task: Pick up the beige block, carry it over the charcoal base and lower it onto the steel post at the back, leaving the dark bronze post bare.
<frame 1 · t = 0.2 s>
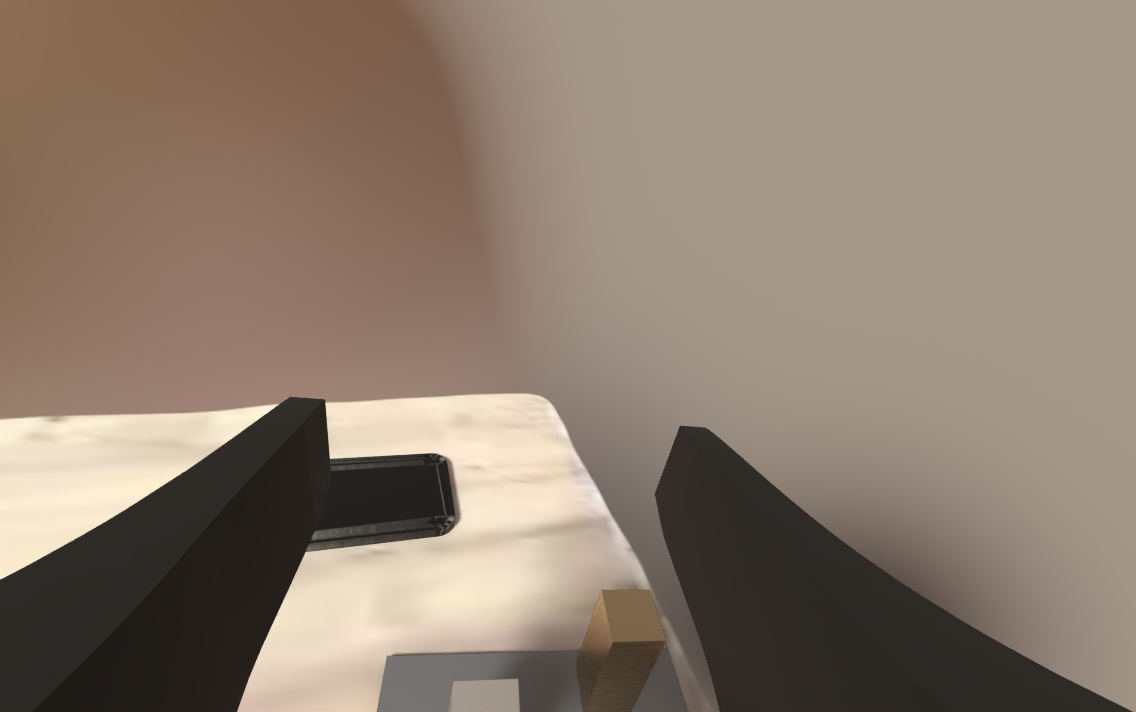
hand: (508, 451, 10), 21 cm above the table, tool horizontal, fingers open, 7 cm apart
phone: (341, 508, 34), on the table
bronze post: (602, 687, 26), resting on base board
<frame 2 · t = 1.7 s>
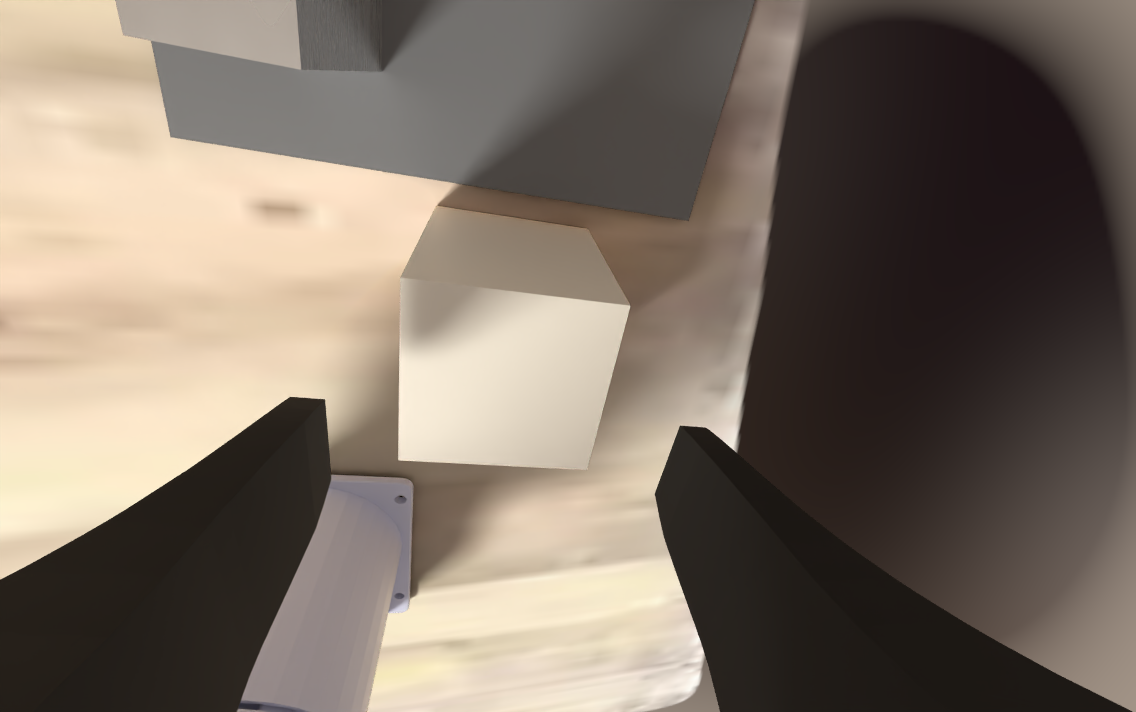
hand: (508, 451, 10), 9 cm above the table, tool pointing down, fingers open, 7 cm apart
beige block: (505, 287, 18), on the table
steel post: (330, 5, 13), resting on base board
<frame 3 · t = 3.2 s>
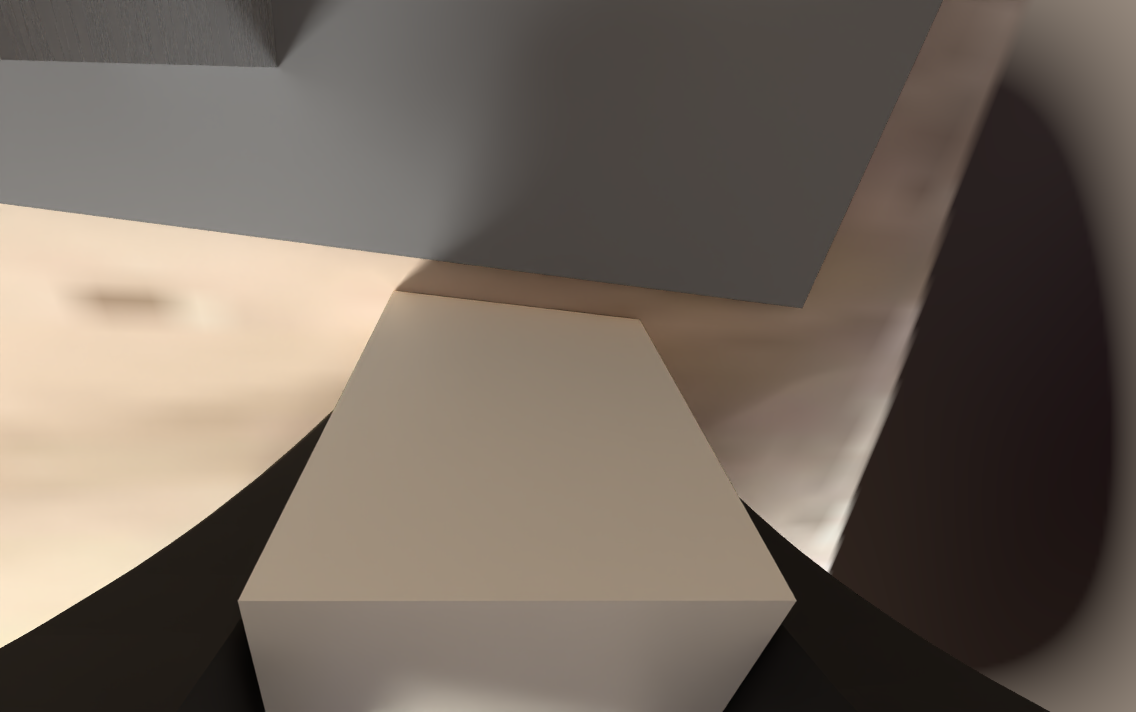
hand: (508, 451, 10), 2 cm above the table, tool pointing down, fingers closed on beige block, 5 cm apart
beige block: (508, 405, 11), on the table, touching gripper
when the fingers open (3 cm above the table, at t = 8.2 s): beige block stays where it is, resting on steel post.
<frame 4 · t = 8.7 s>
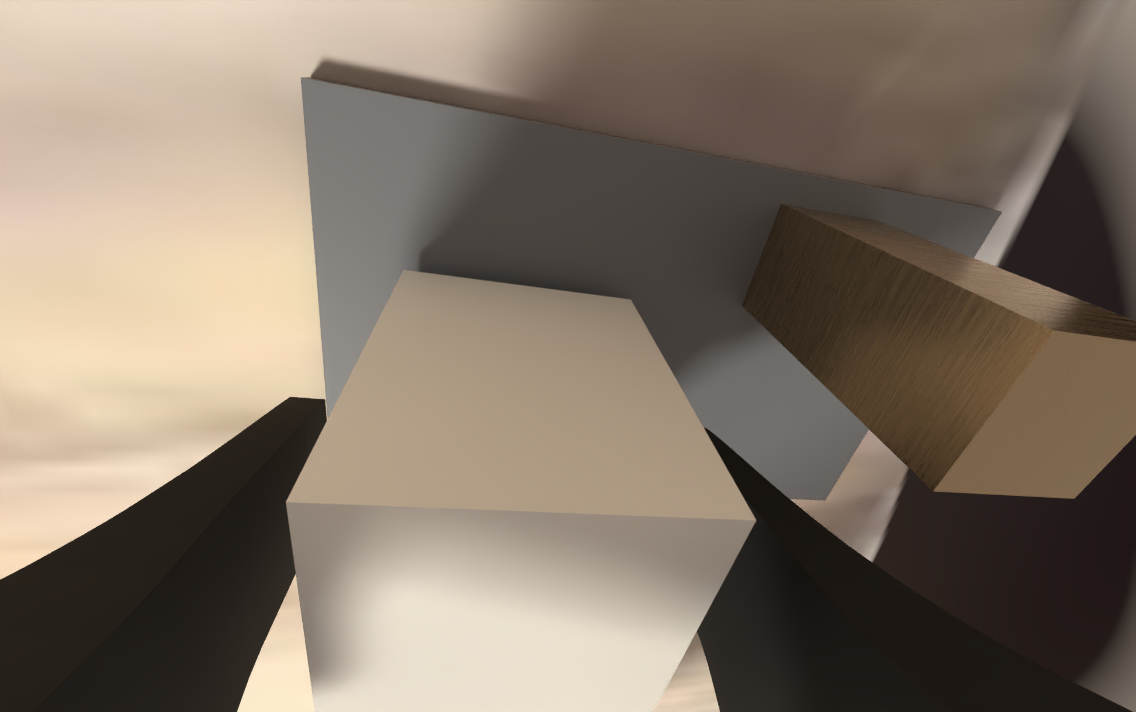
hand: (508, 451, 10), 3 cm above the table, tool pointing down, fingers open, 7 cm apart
beige block: (508, 380, 12), point 1 cm above the table, touching steel post
bronze post: (807, 264, 12), resting on base board
base board: (640, 346, 13), on the table
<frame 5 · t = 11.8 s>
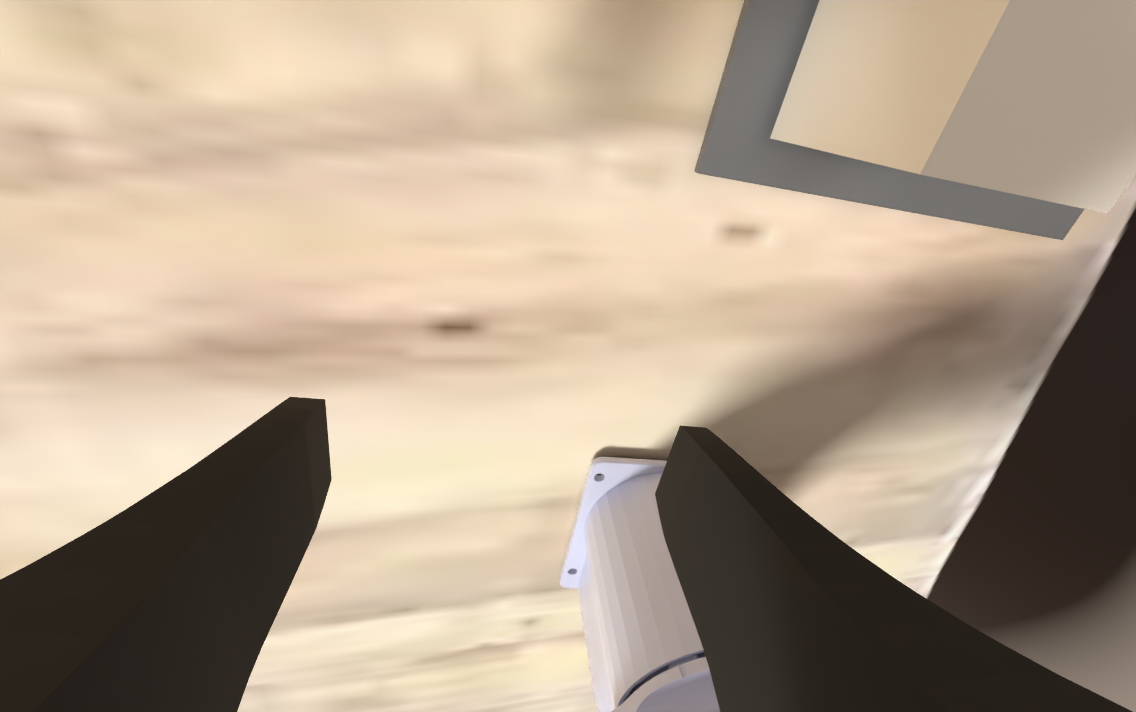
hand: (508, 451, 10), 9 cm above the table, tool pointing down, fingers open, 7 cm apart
beige block: (876, 64, 15), point 1 cm above the table, touching steel post
base board: (964, 54, 16), on the table
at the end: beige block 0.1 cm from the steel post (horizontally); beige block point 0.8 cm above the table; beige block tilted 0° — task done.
